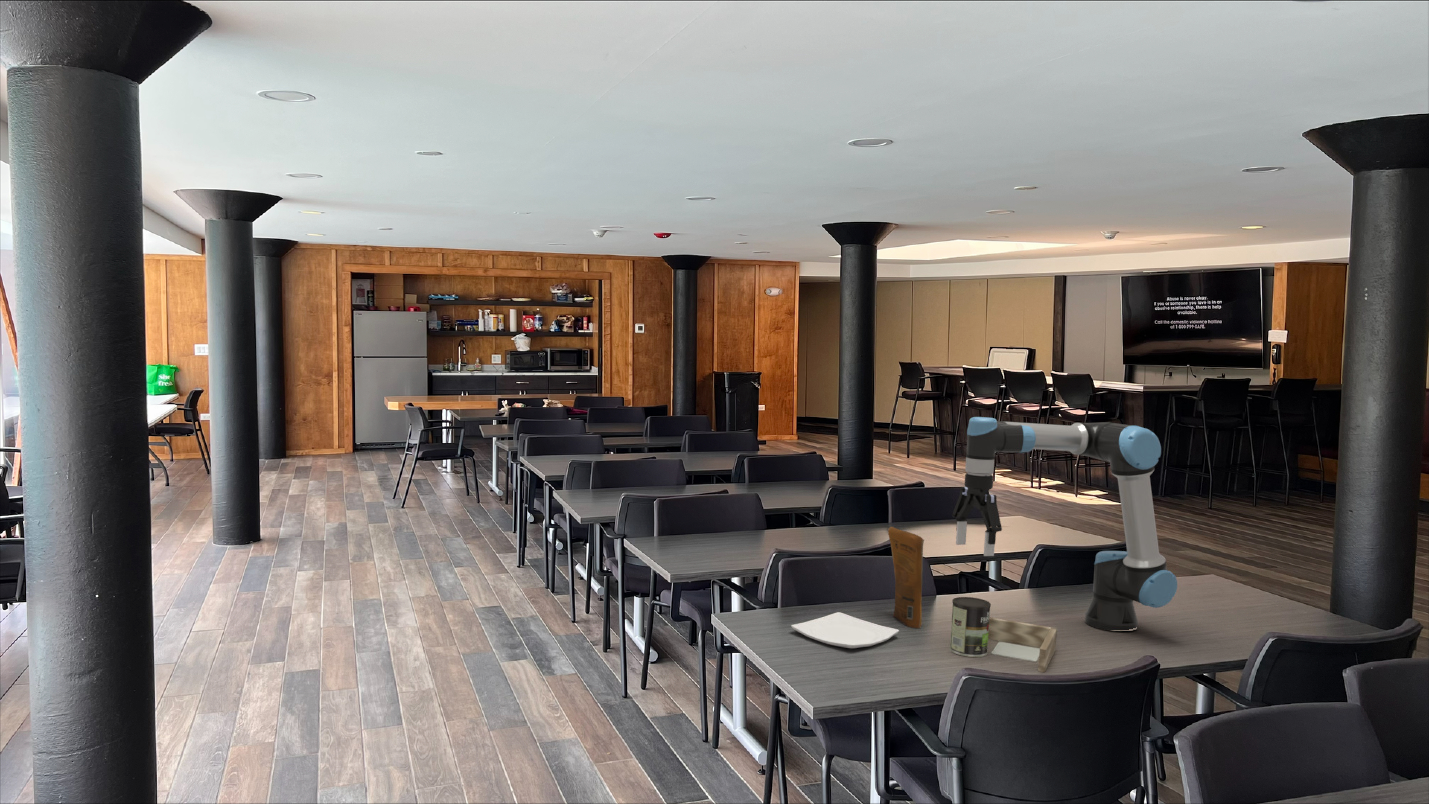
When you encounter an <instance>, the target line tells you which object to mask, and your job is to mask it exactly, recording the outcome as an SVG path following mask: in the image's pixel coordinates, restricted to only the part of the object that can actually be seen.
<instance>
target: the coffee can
mask: <svg viewBox="0 0 1429 804" xmlns="http://www.w3.org/2000/svg"><path fill="white" fill-rule="evenodd" d="M951 602H952V603H951V604H952V607H951V608H952V609H951V610H952V612H951V625H950V626H951V627H950V628H951V629H950V642H949V643H950V644H949V646H950V647H949V651H950V652H952V653H953V654H955V655H959V656H961V657H966V658H982V657H983V658H984V657H986V656H987V655H988V648H989V647H988V646H989V645H988V644H989V639H988V632H989V617H991V616H990V614H991V602H990V601H988V600H985V599H982V598H977V597H973V596H972V597H971V596H960V597H959V596H958V597H953V598H952V601H951Z"/></svg>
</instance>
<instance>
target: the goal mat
mask: <svg viewBox="0 0 1429 804" xmlns="http://www.w3.org/2000/svg"><path fill="white" fill-rule="evenodd" d="M1039 652H1040V648H1037V647H1031V646H1025V645H1020V644H1014V643H1008V642H1002V641H998V643H997V644H996V646H995V647H994V649H993V650H992V651H991V652H990V655H994V656H999V657H1003V658H1004V657H1005V658H1010V659H1016V660H1021V661H1027V662H1033V663H1037V662H1038V661H1039Z"/></svg>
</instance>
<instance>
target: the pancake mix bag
mask: <svg viewBox="0 0 1429 804" xmlns="http://www.w3.org/2000/svg"><path fill="white" fill-rule="evenodd" d="M887 531H888V538H889V543H890V548H891V555H892V562H893V571H894V579H895V587H894V590H895V591H894V592H895V593H894V611H893V616H892V617H894V618H895V619H896V620H898V621H899V622H901V623H902V624H904V625H905V626H906V627H908V628H912V629H913V628H914V629H921V627H922V621H923V619H922V612H923V611H922V610H923V608H922V607H923V605H922V591H923V570H924V569H923V563H924V562H923V561H924V560H923V557H924V556H923V555H924V553H923V552H924V542H925V539H923V537H921V536H919V535H918V534H915V533H913V532H910V531H907V530H901V529H898V528H895V527H894V526H890V527H889V528H888V529H887Z"/></svg>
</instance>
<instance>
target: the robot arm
mask: <svg viewBox="0 0 1429 804" xmlns="http://www.w3.org/2000/svg"><path fill="white" fill-rule="evenodd" d="M966 434H967V438H966V439H967V441H966V455H965V456H966V457H965V466H964V467H965V470H964V471H965V472H966V473H965V475H964V486H961V487H960V491H959V495H958V498H957V500H956V504H955V507H954V509H953V512H952V514H951V517H952V518H955V521H956V535H955V545H956V546H963V545H967V543H966V542H967V527H968V516H969V515H970V513H972V510H973V509H974V508H976V509H977V510H978V511H979V512H980V514H981V517H982V519H983V522H984V525H985V528H986V530H985V532H984V544H983V557H995V545H996V539H997V537H996V536H997V533H998V532H1002V531H1003V527H1002V523H1001V518H1000V514H999V513H1000V512H999V508H998V503H997V500H998V499H997V494H990V492H989V491H990V490H991V489H993V486H994V470H995V468H994V467H995V459H996V458H995V457H996V453H1019V454H1021V453H1029V452H1031V451H1032V450H1043V451H1045V450H1046V451H1047V450H1048V451H1059V452H1060V451H1062V452H1064V451H1065V452H1070V453H1071V454H1072V455H1075V456H1085V457H1088V458H1089V457H1090V458H1094V459H1097V460H1100V461H1103V462H1107V463H1108V462H1109V464H1110V465H1109V466H1110V473H1111V475H1113V476H1114V477H1115V478H1117V484H1118V491H1119V492H1118V493H1119V498H1120V499H1119V500H1120V506H1121V513H1122V521H1123V522H1122V523H1123V529H1124V538H1125V544H1126V545H1125V546H1126V551H1124V550H1123V551H1122V550H1102V551H1099V552H1097V553H1096V555H1095V561H1094V563H1093V565H1094V566H1093V567H1094V571H1093V583H1092V585H1093V586H1092V598H1091V601H1090V603H1089V605H1088V608H1087V609H1086V612H1085V616H1084V622H1085V624H1087V625H1088V626H1091V628H1092V627H1093V628H1096V629H1099V628H1100V629H1099V630H1103V629H1104V631H1108V630H1129V629H1133V628H1136V627H1137V626H1138V623H1139V622H1138V621H1139V620H1138V618H1137V617H1138V616H1137V613H1136V609H1135V605H1134V602H1137V603H1139V604H1141V605H1143V606H1145V607H1151V608H1153V609H1154V608H1155V609H1157V608H1163V607H1165V606H1166V605H1168V604H1169V603H1171V601H1172V600H1173V598H1174V597H1175V595H1176V593H1177V590H1178V579H1177V577H1176V575H1175V574H1174V573H1173V572H1172V571H1171V570H1168V568H1167V567H1168V566H1167V559H1166V558H1165V556H1164V555H1162V554H1161V553H1160V548H1159V540H1158V533H1157V525H1156V517H1155V511H1154V509H1155V507H1154V501H1153V493H1152V485H1151V477H1150V476H1151V475H1152V474H1153V472H1154V471H1155V466H1156V465H1157V464H1158V462H1159V458H1161V455H1162V446H1161V443H1160V440H1159V437H1158V436H1157V435H1156V434H1155V432H1153V431H1152V430H1150V429H1148V428H1146V427H1145V428H1144V427H1141V426H1139V425H1130V424H1122V423H1115V422H1111V421H1110V422H1103V421H1102V422H1074V423H1073V424H1071V425H1064V424H1050V423H1049V424H1047V423H1035V422H1034V423H1032V422H1018V421H1017V422H1016V421H1015V422H1014V421H1000V420H998V421H997V419H996V418H993V417H988V416H987V417H986V416H985V417H984V416H983V417H982V416H973V417H971V418H970V419H969V421H968V425H967V431H966ZM1137 628H1138V627H1137Z"/></svg>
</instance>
